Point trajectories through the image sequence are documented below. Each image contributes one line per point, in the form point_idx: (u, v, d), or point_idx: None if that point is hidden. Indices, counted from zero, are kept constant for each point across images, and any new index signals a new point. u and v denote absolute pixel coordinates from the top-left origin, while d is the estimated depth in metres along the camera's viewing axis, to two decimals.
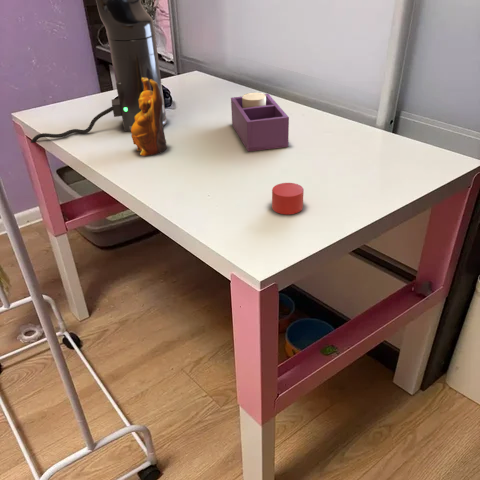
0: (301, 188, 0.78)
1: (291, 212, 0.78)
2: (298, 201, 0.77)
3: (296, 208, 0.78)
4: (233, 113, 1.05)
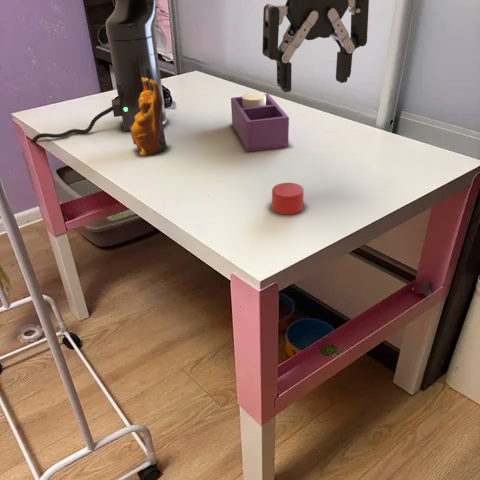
0: (301, 188, 0.78)
1: (291, 212, 0.78)
2: (298, 201, 0.77)
3: (296, 208, 0.78)
4: (233, 113, 1.05)
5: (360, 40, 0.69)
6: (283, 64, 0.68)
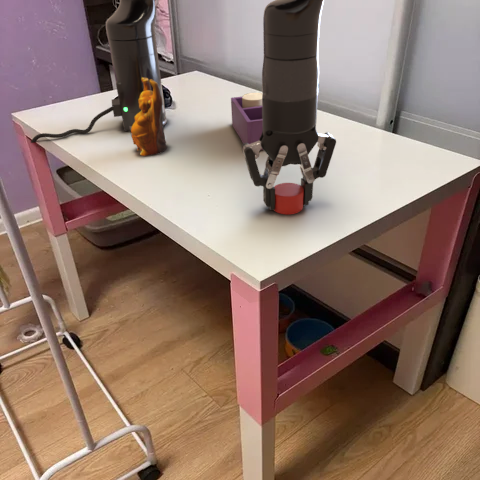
0: (301, 188, 0.78)
1: (291, 212, 0.78)
2: (298, 201, 0.77)
3: (296, 208, 0.78)
4: (233, 113, 1.05)
5: (319, 173, 0.76)
6: (268, 188, 0.76)
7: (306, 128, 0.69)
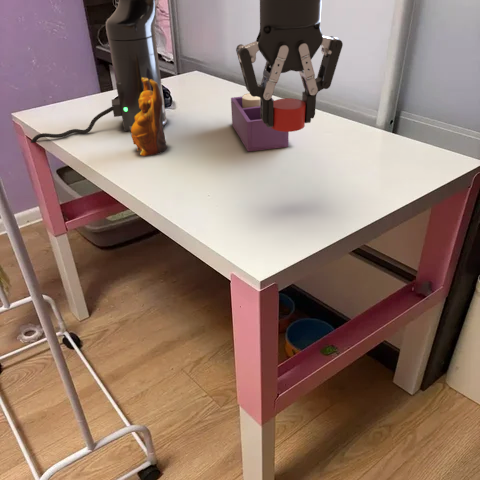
0: (303, 102, 0.70)
1: (291, 129, 0.70)
2: (299, 115, 0.69)
3: (297, 124, 0.70)
4: (233, 113, 1.05)
5: (323, 83, 0.68)
6: (265, 100, 0.68)
7: (309, 22, 0.61)
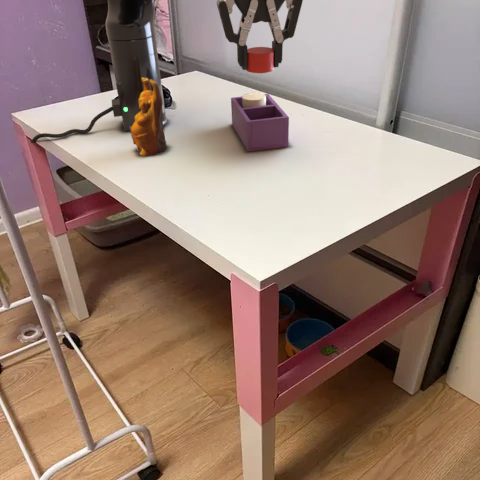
0: (272, 49, 0.86)
1: (262, 71, 0.85)
2: (268, 59, 0.85)
3: (267, 67, 0.85)
4: (233, 113, 1.05)
5: (288, 32, 0.84)
6: (241, 46, 0.84)
7: None
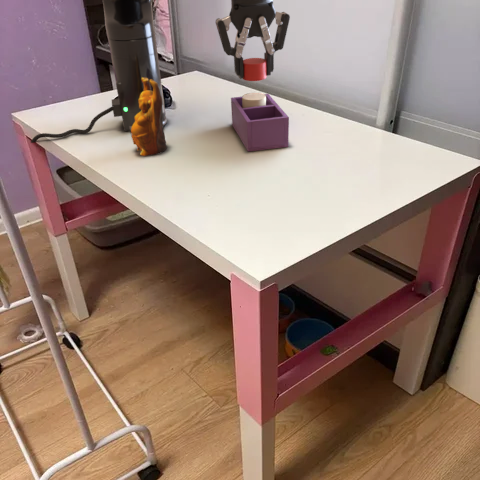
0: (264, 60, 0.98)
1: (256, 79, 0.98)
2: (261, 69, 0.97)
3: (260, 75, 0.98)
4: (233, 113, 1.05)
5: (278, 45, 0.96)
6: (237, 58, 0.96)
7: (264, 0, 0.89)
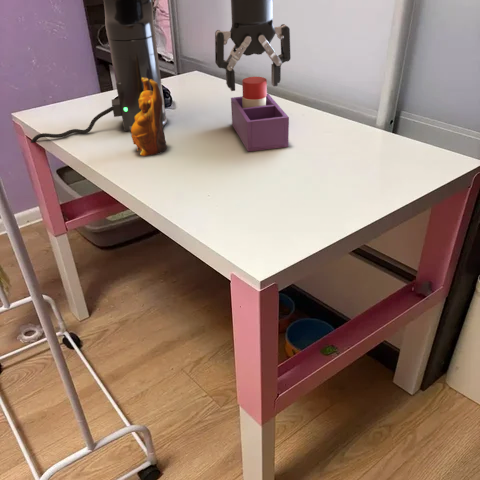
0: (265, 79, 1.00)
1: (257, 97, 1.00)
2: (262, 88, 0.99)
3: (261, 94, 1.00)
4: (233, 113, 1.05)
5: (285, 57, 0.97)
6: (229, 71, 0.97)
7: (264, 20, 0.91)
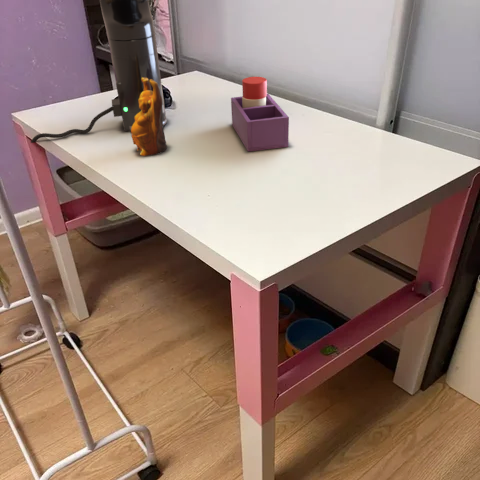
0: (265, 79, 1.00)
1: (257, 97, 1.00)
2: (262, 88, 0.99)
3: (261, 94, 1.00)
4: (233, 113, 1.05)
5: None
6: None
7: None
